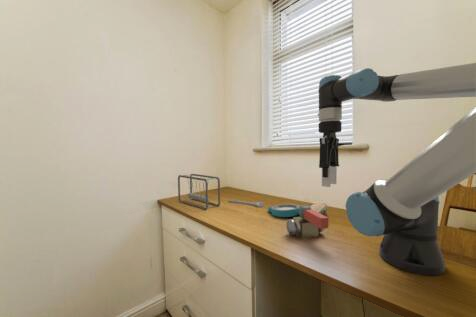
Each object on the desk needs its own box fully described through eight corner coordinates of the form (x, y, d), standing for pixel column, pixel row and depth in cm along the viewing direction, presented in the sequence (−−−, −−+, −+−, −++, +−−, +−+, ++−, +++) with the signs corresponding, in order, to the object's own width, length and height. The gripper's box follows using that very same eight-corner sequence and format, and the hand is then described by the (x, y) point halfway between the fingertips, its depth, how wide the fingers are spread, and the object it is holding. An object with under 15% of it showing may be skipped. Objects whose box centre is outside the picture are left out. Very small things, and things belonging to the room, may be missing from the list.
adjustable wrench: (227, 202, 133) (227, 200, 133) (233, 200, 138) (233, 198, 138) (261, 208, 119) (261, 205, 119) (266, 205, 124) (266, 202, 124)
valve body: (314, 229, 87) (315, 213, 86) (325, 235, 80) (325, 218, 80) (285, 232, 84) (285, 216, 83) (294, 239, 77) (294, 222, 77)
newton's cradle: (178, 201, 135) (177, 175, 134) (191, 198, 143) (190, 173, 142) (206, 210, 115) (206, 179, 114) (220, 206, 123) (220, 177, 122)
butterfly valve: (257, 223, 102) (318, 230, 84) (255, 209, 102) (317, 213, 84) (280, 210, 123) (333, 213, 105) (279, 198, 123) (332, 200, 105)
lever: (297, 215, 83) (297, 206, 83) (307, 214, 84) (307, 205, 84) (318, 229, 69) (318, 217, 69) (330, 227, 70) (330, 216, 70)
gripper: (328, 124, 83) (327, 180, 84) (308, 120, 69) (308, 187, 70) (348, 122, 78) (347, 182, 79) (332, 117, 64) (331, 190, 65)
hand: (329, 184), depth 75 cm, fingers open, 6 cm apart
